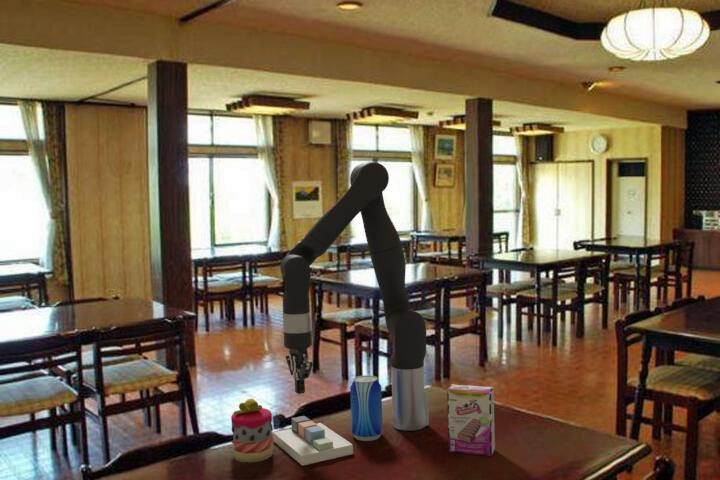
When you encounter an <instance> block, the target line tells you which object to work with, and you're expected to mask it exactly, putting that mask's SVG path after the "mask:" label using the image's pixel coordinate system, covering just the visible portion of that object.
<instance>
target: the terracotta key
mask: <svg viewBox="0 0 720 480" xmlns="http://www.w3.org/2000/svg"><path fill="white" fill-rule="evenodd" d="M314 426H317V423H315V422H314V421H313V420H310V421H306V422H301V423H298V431H299V437H301V438H302V439H303V440H305V439H306V435H305V428H309V427H314Z"/></svg>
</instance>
